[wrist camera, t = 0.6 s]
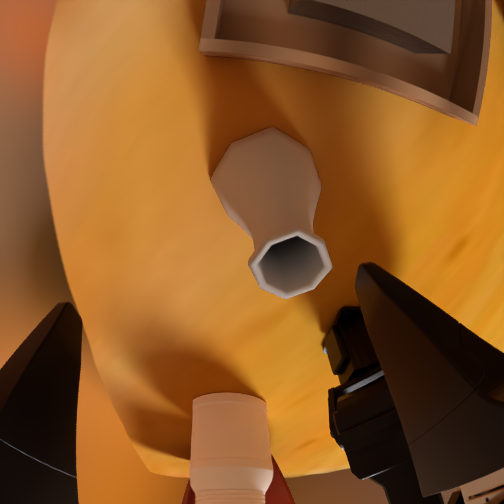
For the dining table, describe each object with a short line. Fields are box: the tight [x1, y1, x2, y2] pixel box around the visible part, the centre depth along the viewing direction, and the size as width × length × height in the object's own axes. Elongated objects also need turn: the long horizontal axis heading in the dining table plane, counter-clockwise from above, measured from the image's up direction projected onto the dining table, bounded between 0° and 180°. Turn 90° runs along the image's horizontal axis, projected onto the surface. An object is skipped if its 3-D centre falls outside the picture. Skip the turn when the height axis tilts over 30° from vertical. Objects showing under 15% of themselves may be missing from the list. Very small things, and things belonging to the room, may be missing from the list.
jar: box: [190, 392, 273, 504], centre depth 31 cm, size 12×10×15 cm
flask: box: [210, 127, 332, 299], centre depth 16 cm, size 7×7×10 cm
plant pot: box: [182, 454, 295, 504], centre depth 42 cm, size 19×19×17 cm
